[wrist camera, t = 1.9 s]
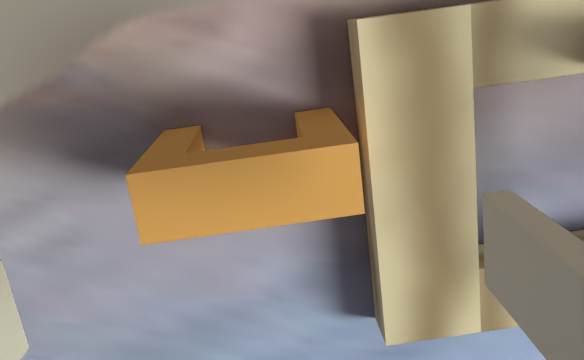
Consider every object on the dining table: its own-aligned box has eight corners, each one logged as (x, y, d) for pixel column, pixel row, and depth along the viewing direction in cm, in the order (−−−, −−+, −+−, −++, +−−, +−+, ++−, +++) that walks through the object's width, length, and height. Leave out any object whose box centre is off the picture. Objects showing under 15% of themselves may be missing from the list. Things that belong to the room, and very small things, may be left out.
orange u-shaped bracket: (174, 181, 31) (141, 245, 22) (164, 130, 30) (125, 174, 21) (335, 159, 31) (365, 213, 22) (330, 107, 30) (358, 142, 21)
